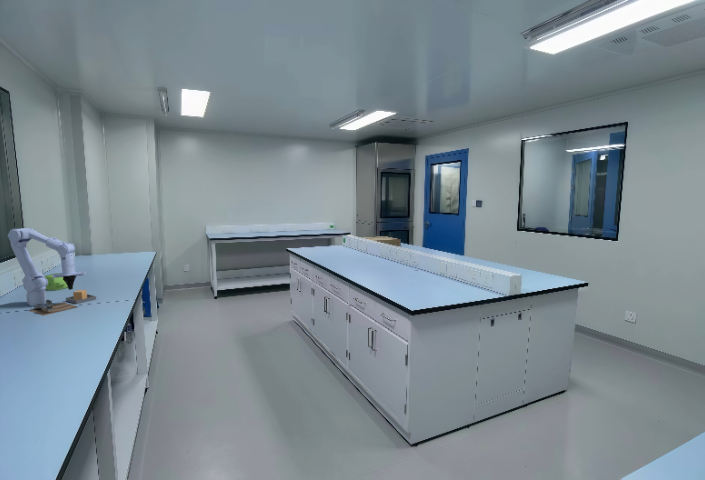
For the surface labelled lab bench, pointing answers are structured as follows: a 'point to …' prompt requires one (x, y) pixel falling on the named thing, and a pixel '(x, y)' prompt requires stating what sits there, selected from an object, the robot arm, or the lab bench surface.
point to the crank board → (54, 309)
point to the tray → (89, 298)
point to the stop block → (80, 294)
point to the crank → (44, 306)
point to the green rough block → (55, 283)
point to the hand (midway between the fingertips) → (70, 289)
